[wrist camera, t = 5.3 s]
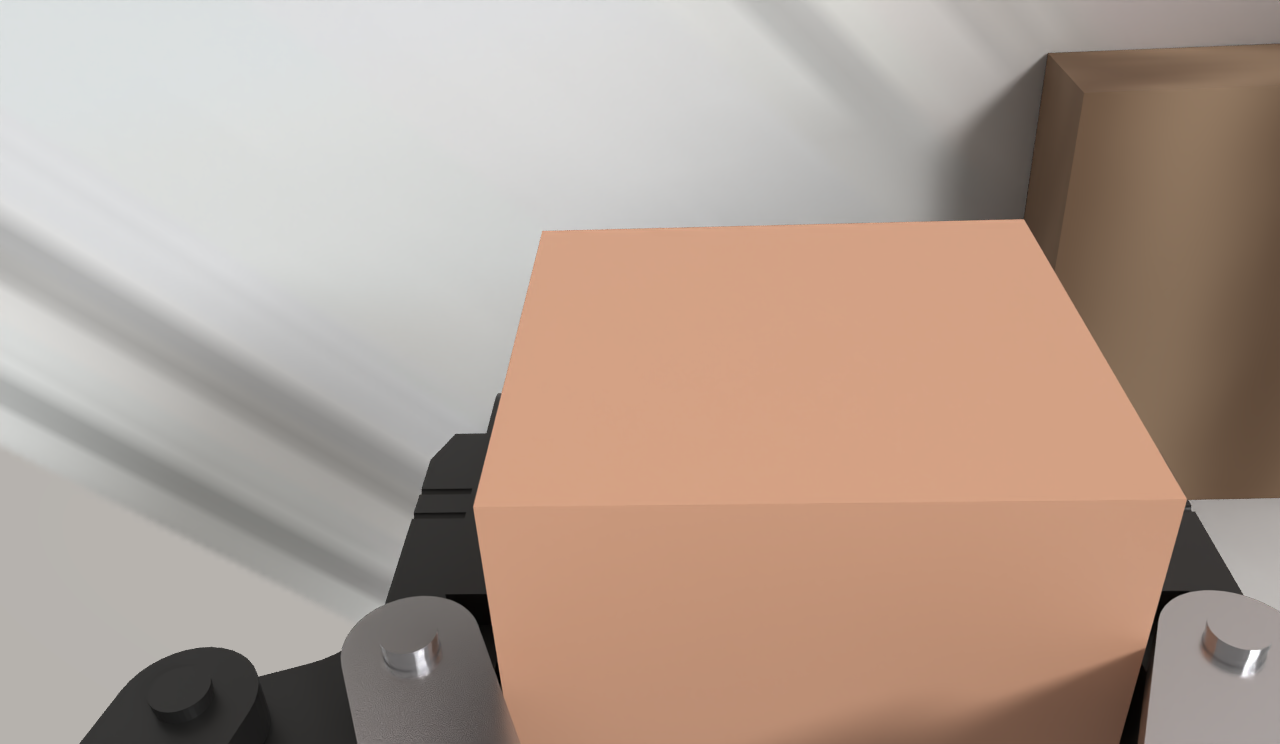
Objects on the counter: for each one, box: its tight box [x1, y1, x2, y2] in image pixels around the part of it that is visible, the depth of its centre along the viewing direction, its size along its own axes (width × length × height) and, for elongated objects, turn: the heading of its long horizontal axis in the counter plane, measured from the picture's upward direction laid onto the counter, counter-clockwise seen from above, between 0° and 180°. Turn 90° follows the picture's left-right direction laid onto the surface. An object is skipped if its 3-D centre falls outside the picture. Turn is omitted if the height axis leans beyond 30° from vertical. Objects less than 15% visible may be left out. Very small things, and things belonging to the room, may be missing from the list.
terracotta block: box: [473, 219, 1187, 744], centre depth 12 cm, size 6×6×5 cm
